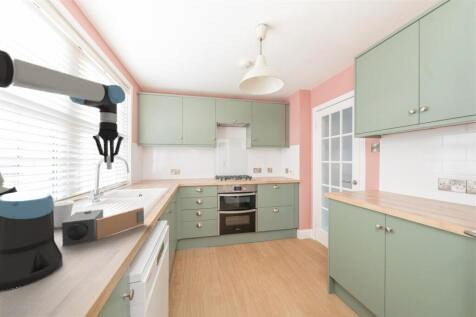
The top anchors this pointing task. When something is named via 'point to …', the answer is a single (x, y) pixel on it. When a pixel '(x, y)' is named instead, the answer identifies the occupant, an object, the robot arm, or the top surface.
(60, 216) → the cup
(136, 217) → the door
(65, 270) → the top surface
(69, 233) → the camera housing
